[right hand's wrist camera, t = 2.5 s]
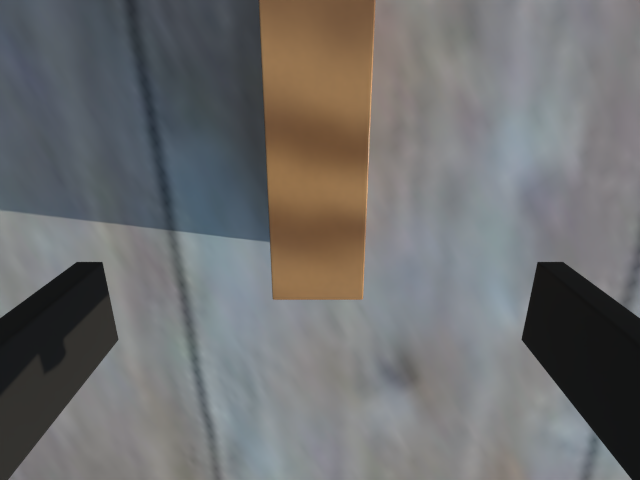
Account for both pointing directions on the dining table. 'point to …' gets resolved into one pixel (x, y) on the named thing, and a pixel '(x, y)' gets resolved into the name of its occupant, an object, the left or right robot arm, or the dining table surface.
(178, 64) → the dining table surface
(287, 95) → the beam
